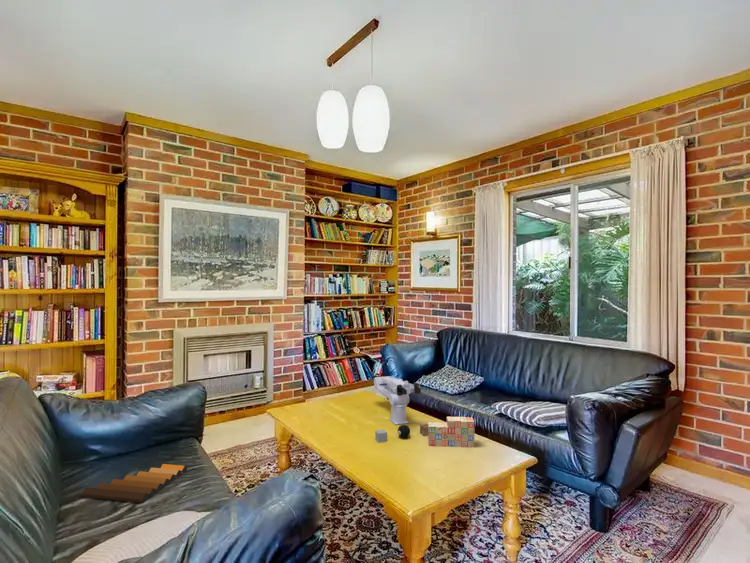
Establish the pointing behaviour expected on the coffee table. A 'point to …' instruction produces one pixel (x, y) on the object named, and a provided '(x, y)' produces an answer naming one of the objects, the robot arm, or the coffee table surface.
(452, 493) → the coffee table surface
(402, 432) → the billiard ball
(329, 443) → the coffee table surface
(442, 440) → the stack of blocks
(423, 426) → the walnut block
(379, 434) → the grey block
